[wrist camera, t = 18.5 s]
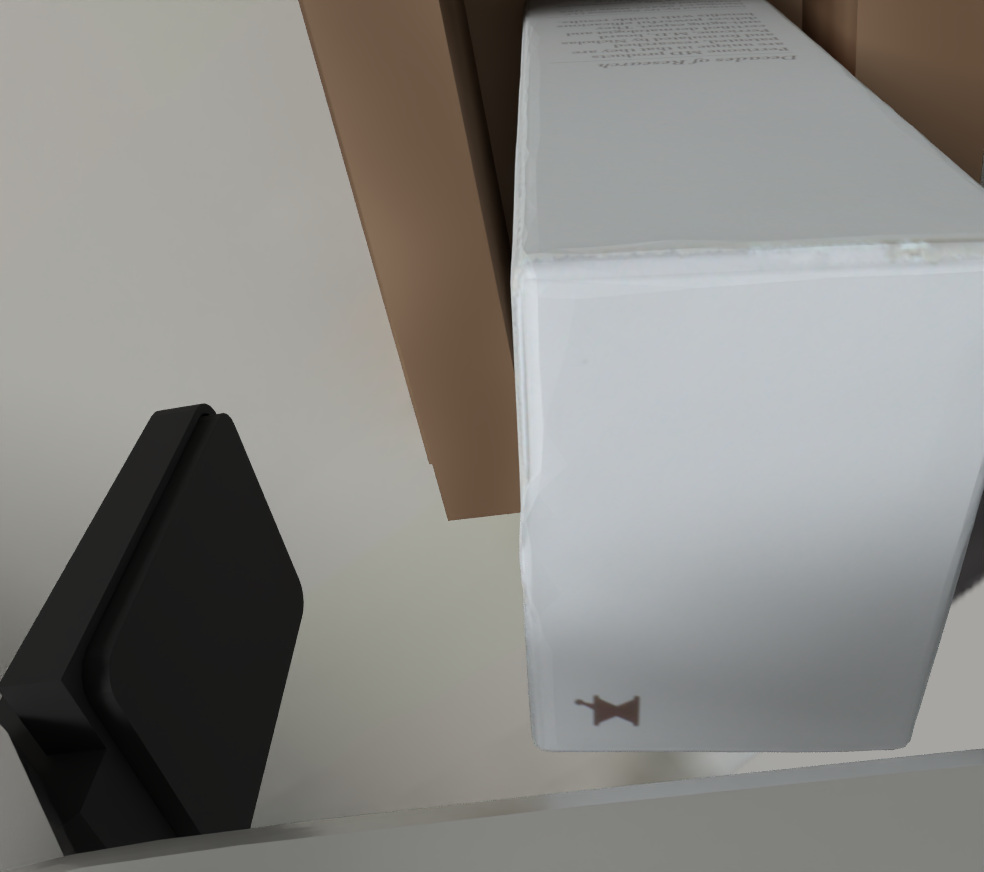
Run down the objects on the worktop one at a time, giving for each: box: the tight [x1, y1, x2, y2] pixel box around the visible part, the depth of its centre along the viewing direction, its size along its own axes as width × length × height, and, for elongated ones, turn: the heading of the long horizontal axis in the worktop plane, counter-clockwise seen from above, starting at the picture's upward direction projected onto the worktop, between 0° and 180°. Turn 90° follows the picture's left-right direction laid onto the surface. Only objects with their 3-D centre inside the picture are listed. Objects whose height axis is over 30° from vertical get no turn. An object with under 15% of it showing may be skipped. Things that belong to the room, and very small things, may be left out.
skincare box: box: [510, 0, 984, 752], centre depth 13 cm, size 6×4×12 cm
